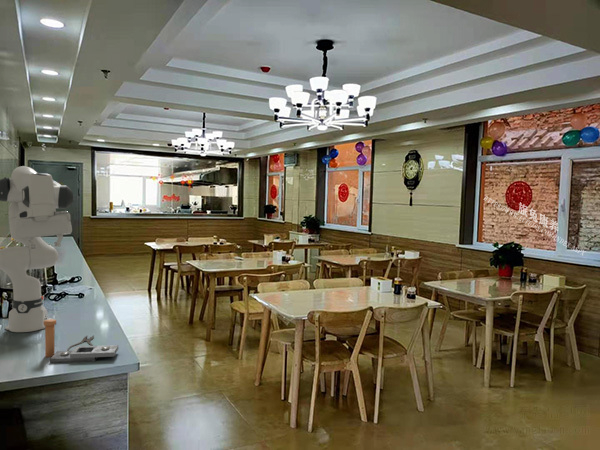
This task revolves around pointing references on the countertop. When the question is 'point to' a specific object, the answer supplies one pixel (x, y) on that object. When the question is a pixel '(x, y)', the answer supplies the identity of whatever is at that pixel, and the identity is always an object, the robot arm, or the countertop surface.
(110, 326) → the countertop surface
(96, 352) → the grey latch
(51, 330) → the pin
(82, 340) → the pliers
